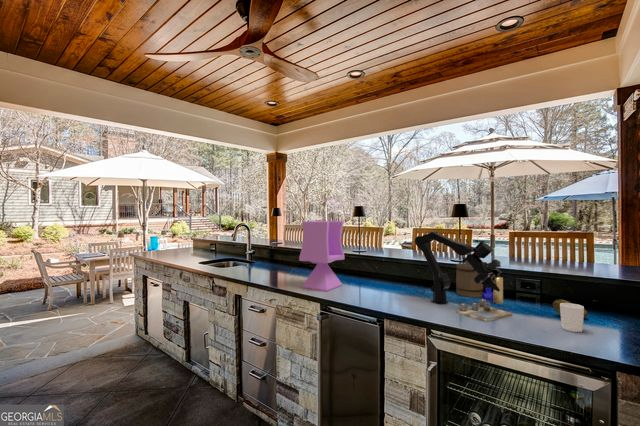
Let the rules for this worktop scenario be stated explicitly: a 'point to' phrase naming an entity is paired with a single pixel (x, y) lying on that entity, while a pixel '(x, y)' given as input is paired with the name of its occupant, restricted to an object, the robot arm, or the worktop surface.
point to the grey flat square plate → (485, 315)
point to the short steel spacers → (476, 305)
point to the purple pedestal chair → (322, 253)
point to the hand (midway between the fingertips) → (501, 290)
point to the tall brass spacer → (497, 295)
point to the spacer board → (492, 310)
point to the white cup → (572, 316)
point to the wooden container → (467, 281)
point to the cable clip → (488, 295)
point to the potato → (557, 303)
